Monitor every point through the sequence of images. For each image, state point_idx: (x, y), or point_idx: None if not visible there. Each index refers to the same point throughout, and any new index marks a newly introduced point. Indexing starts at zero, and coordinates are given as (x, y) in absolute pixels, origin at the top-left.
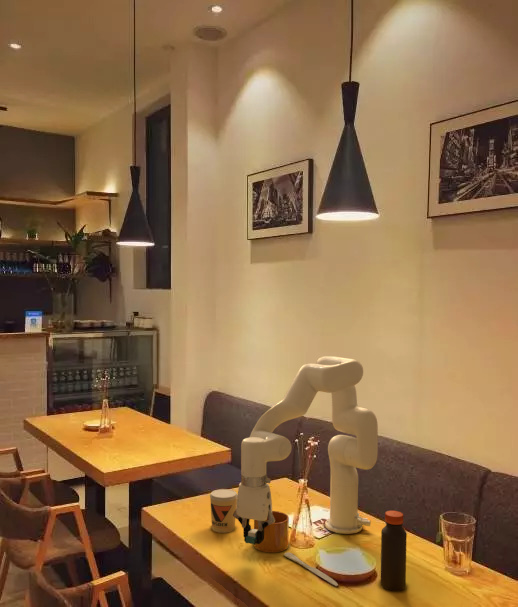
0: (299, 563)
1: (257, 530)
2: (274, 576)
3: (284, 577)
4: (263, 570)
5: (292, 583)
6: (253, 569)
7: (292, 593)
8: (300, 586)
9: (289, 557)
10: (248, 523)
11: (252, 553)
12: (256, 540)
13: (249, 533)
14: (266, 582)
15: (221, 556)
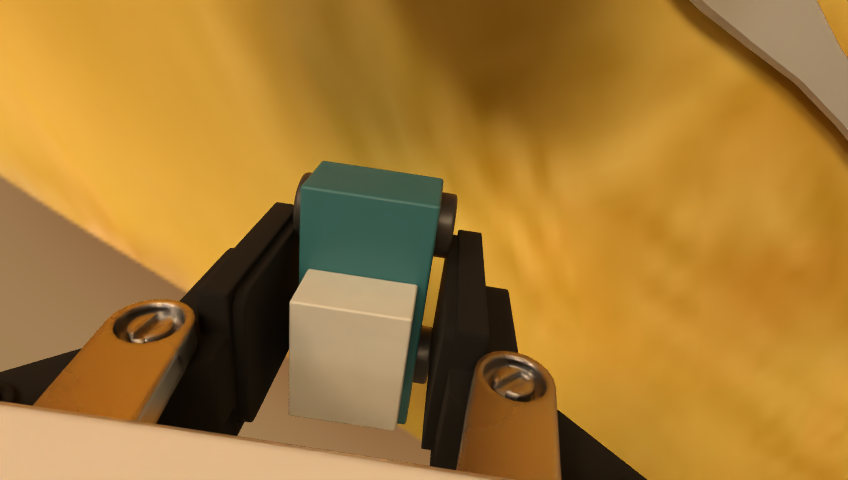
0: (819, 107)
1: (424, 434)
2: (602, 335)
3: (674, 332)
4: (510, 279)
5: (731, 386)
6: (435, 284)
7: (728, 474)
8: (784, 405)
9: (724, 21)
10: (193, 373)
11: (330, 5)
12: (428, 365)
13: (316, 408)
14: (561, 409)
15: (119, 156)
